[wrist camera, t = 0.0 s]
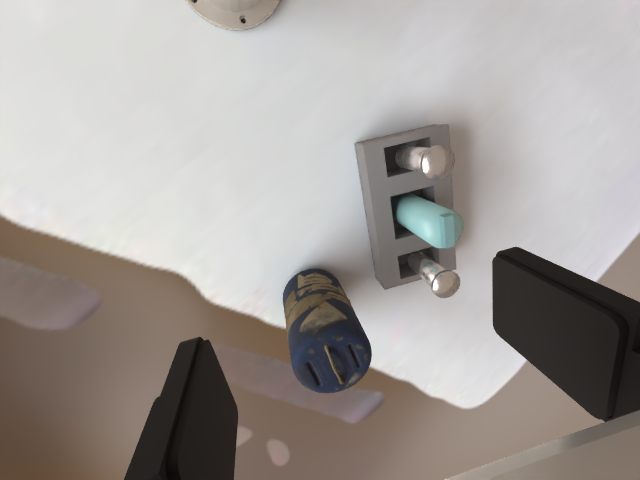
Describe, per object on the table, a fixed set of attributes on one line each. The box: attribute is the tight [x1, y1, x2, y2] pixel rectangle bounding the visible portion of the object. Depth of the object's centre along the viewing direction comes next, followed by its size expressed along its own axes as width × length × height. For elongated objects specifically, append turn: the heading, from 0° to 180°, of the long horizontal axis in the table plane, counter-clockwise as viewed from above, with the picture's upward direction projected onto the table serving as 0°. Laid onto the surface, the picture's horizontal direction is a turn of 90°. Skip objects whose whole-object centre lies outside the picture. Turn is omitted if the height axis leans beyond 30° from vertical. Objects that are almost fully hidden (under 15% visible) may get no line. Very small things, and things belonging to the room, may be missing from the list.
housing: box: [354, 125, 456, 289], centre depth 47 cm, size 22×12×4 cm, turn 12°
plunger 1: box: [395, 145, 454, 180], centre depth 39 cm, size 4×4×9 cm
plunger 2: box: [407, 251, 460, 298], centre depth 45 cm, size 4×4×9 cm
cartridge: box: [390, 192, 463, 249], centre depth 43 cm, size 5×5×13 cm
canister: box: [283, 269, 372, 393], centre depth 43 cm, size 10×10×18 cm
